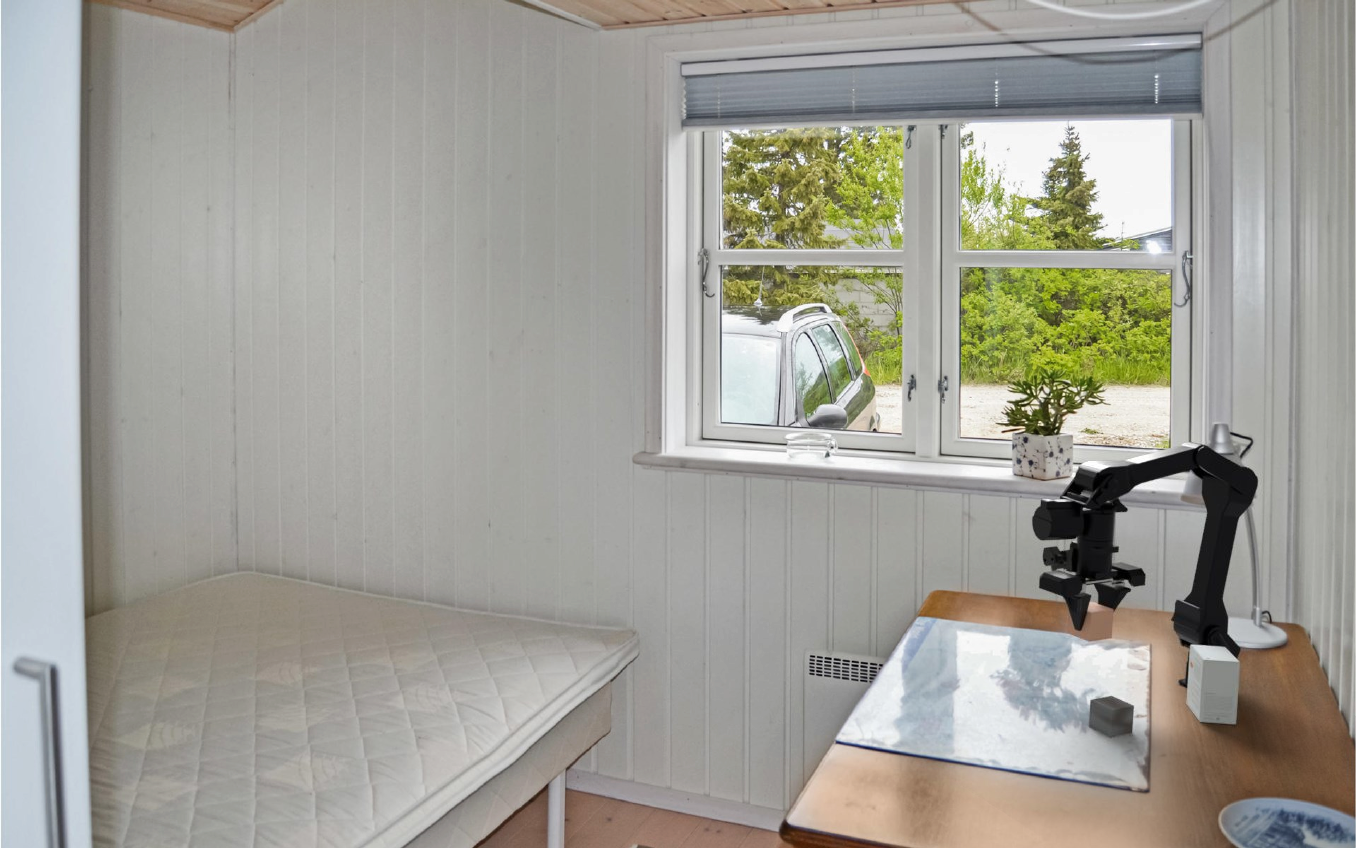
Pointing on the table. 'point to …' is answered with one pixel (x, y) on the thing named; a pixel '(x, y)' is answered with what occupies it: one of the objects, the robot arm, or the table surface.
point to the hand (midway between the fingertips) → (1089, 628)
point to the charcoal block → (1111, 716)
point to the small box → (1213, 684)
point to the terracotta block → (1094, 623)
